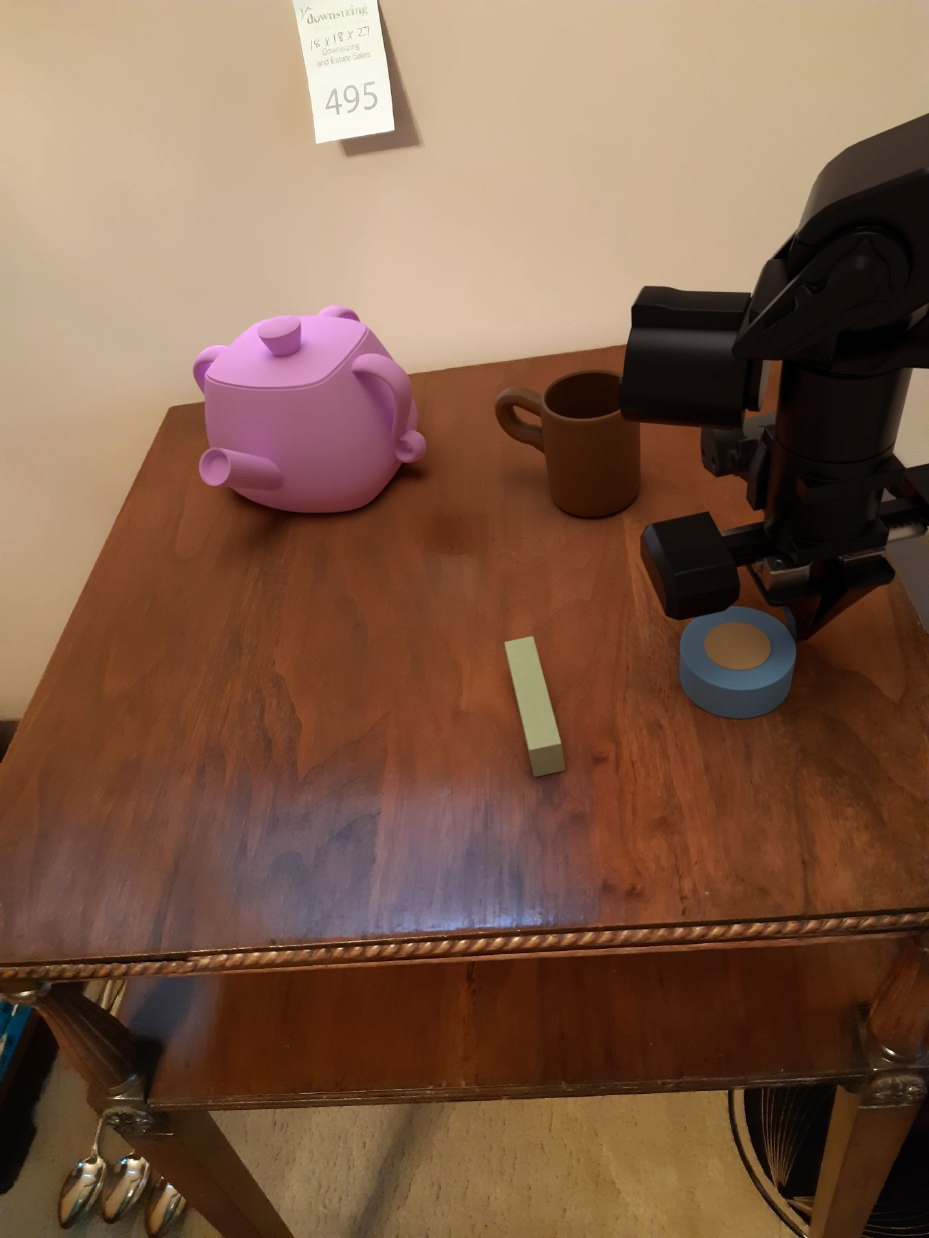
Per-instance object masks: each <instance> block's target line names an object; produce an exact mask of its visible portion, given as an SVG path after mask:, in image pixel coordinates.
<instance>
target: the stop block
mask: <svg viewBox="0 0 929 1238" xmlns="http://www.w3.org/2000/svg"><path fill="white" fill-rule="evenodd" d="M504 649H505V653H506V659H507V665H508V668H509V673H510V677H511V678H510V679H511V682H512V686H513V690H514V696H515V700H516V704H517V708H518V713H519V717H520V721H521V727H522V730H523V735H524V740H525V744H526V748H527V752H528V756H529V761H530V766H531V770H532V775H533V778H537V777H541V776H546V775H550V774H555V773H560V772H565V771H566V766H565V759H564V752H563V744H562V740H561V736H560V732H559V729H558V723H557V721H556V717H555V714H554V709H553V706H552V703H551V698H550V694H549V691H548V687H547V683H546V679H545V676H544V672H543V668H542V664H541V660H540V657H539V652H538V649H537V646H536V641H535V638H534V636H532V635H531V636H526V637H521V638H517V639H513V640H508V641H505V642H504Z"/></svg>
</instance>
